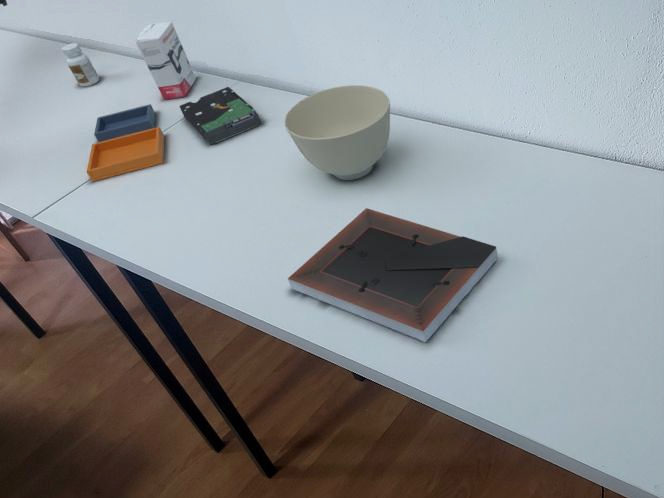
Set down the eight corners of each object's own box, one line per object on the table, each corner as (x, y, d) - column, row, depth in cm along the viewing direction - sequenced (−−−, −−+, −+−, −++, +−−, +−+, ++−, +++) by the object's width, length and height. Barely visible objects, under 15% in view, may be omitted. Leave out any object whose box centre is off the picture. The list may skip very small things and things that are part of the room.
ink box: (186, 97, 129) (158, 37, 120) (162, 100, 129) (133, 40, 121) (197, 78, 135) (171, 19, 126) (174, 81, 135) (147, 23, 126)
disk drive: (184, 119, 122) (210, 146, 113) (177, 106, 120) (204, 132, 111) (233, 99, 126) (263, 123, 117) (228, 85, 124) (257, 109, 115)
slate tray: (99, 144, 120) (93, 134, 118) (103, 127, 124) (97, 117, 123) (154, 130, 121) (149, 120, 119) (155, 113, 126) (150, 104, 124)
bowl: (402, 190, 97) (388, 129, 89) (299, 205, 97) (277, 146, 90) (402, 136, 108) (390, 78, 100) (309, 150, 108) (290, 93, 101)
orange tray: (92, 181, 110) (86, 171, 109) (98, 153, 117) (92, 143, 115) (163, 163, 112) (158, 152, 110) (164, 136, 118) (159, 126, 117)
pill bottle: (75, 86, 140) (54, 50, 134) (90, 76, 142) (70, 41, 137) (89, 87, 138) (68, 51, 133) (104, 78, 141) (84, 42, 135)
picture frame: (498, 261, 83) (370, 221, 92) (496, 246, 81) (366, 206, 91) (426, 345, 74) (293, 291, 84) (422, 330, 72) (287, 277, 82)
